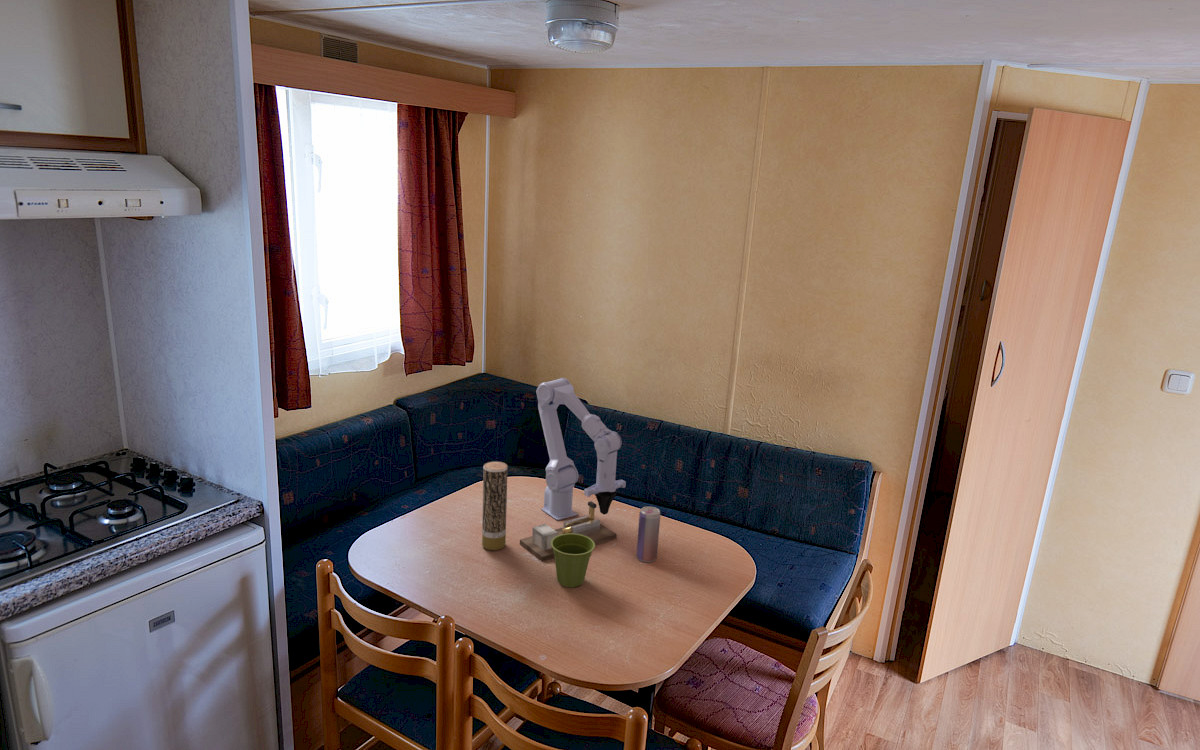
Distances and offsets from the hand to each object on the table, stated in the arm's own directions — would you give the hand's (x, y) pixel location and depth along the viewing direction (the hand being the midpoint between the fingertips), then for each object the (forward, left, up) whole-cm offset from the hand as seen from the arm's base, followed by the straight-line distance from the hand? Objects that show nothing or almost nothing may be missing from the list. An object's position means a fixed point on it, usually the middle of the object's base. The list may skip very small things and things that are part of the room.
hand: (603, 512), depth 230 cm
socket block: (0, -21, -5) cm, 22 cm away
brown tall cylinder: (-9, -33, -6) cm, 35 cm away
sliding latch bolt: (0, -9, -4) cm, 10 cm away
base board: (0, -13, -6) cm, 14 cm away
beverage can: (+20, +1, -6) cm, 21 cm away
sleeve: (0, -8, -5) cm, 9 cm away
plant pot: (+19, -25, -6) cm, 32 cm away
